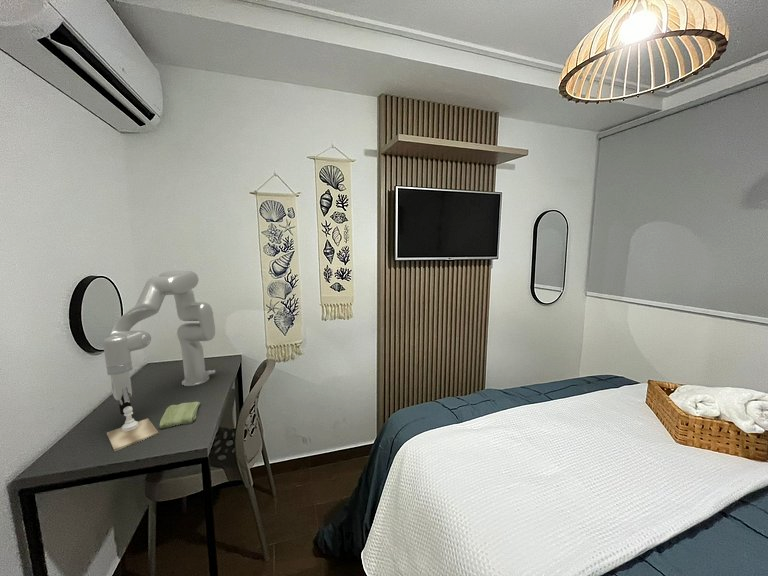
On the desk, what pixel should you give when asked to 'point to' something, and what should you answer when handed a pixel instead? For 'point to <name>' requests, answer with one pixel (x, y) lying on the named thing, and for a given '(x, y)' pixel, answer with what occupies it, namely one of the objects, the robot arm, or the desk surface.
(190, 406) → the washcloth
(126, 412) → the chess pawn
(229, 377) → the desk surface
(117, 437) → the oak pad
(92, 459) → the desk surface
